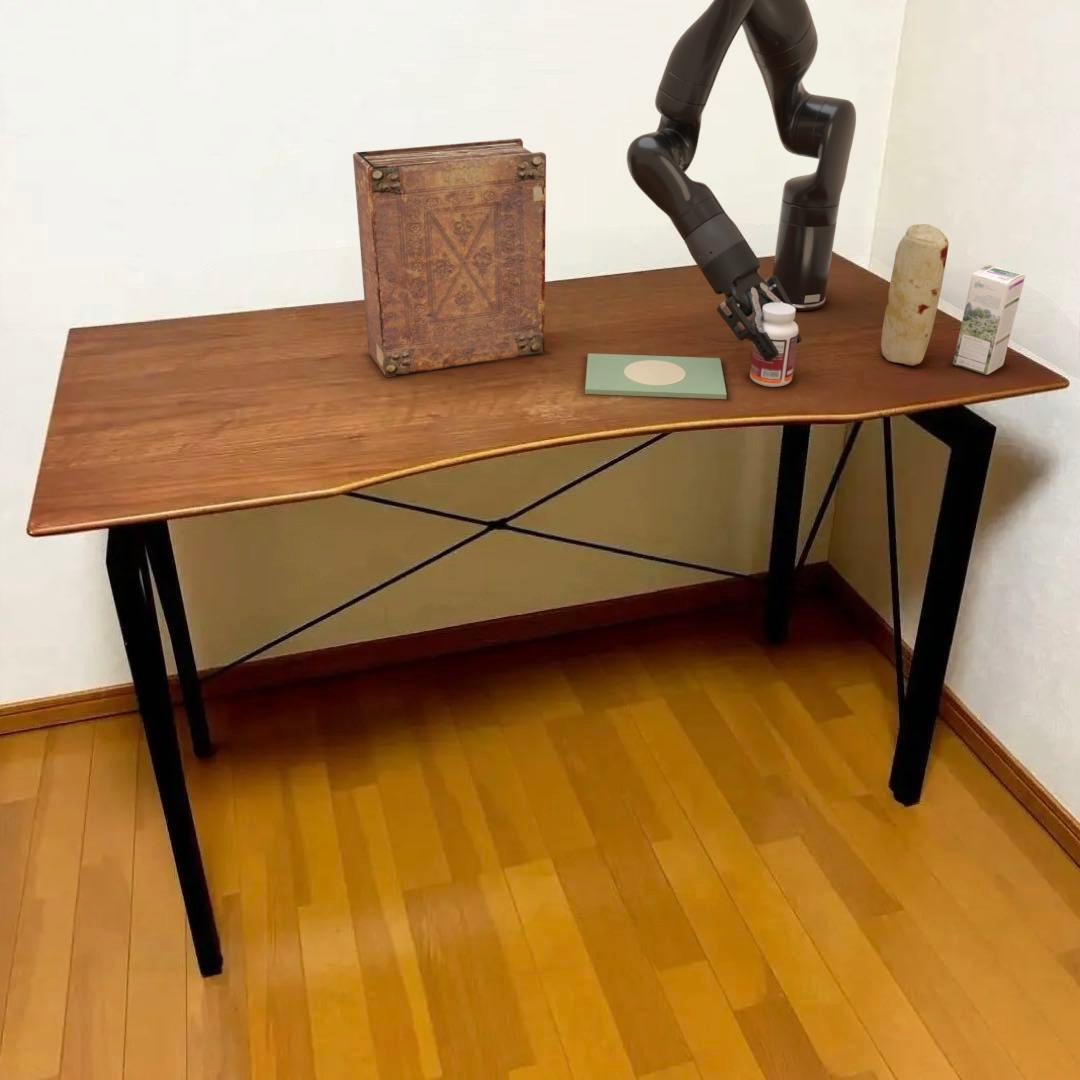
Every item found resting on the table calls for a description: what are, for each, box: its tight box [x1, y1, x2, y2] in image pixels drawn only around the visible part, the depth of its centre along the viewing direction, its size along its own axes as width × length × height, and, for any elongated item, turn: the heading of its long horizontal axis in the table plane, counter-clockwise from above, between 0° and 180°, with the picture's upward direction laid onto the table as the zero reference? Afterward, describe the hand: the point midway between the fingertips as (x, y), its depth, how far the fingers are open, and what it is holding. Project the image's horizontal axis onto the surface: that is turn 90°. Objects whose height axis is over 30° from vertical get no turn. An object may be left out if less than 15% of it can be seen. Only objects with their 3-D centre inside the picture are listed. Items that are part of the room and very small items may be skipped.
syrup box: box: [952, 264, 1026, 376], centre depth 165 cm, size 6×6×14 cm
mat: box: [584, 353, 728, 400], centre depth 164 cm, size 13×20×1 cm, turn 86°
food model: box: [880, 223, 950, 366], centre depth 166 cm, size 10×7×20 cm
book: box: [352, 137, 547, 378], centre depth 163 cm, size 25×9×30 cm, turn 112°
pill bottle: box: [749, 302, 799, 388], centre depth 161 cm, size 6×6×11 cm
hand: (784, 350), depth 160 cm, fingers closed on pill bottle, 6 cm apart
